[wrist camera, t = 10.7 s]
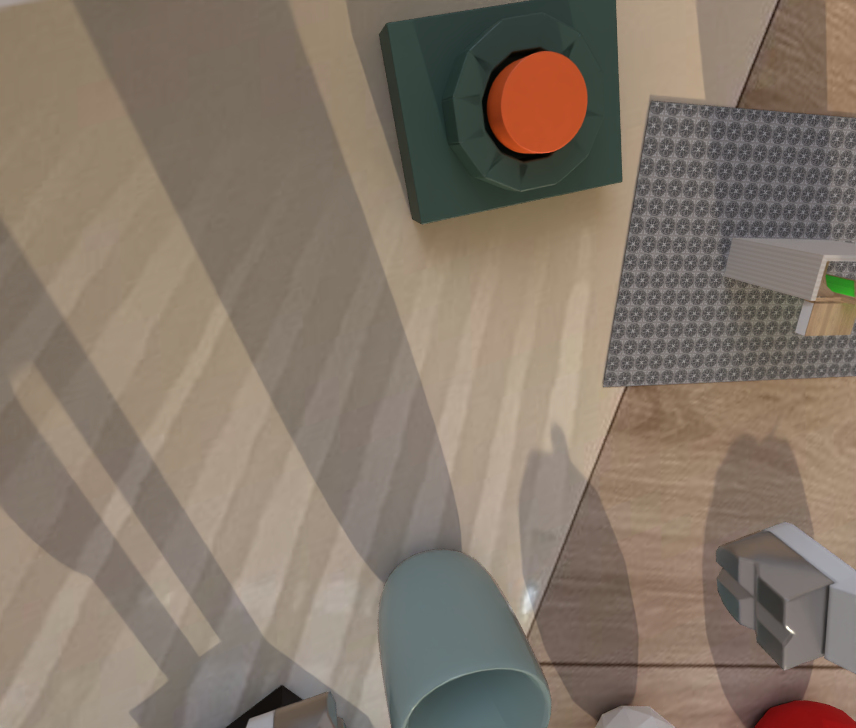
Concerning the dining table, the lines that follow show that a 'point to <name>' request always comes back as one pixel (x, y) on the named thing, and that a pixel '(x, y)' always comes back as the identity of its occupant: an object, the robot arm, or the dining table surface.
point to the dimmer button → (537, 103)
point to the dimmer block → (467, 104)
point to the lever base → (267, 706)
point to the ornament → (633, 718)
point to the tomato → (805, 716)
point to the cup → (456, 649)
